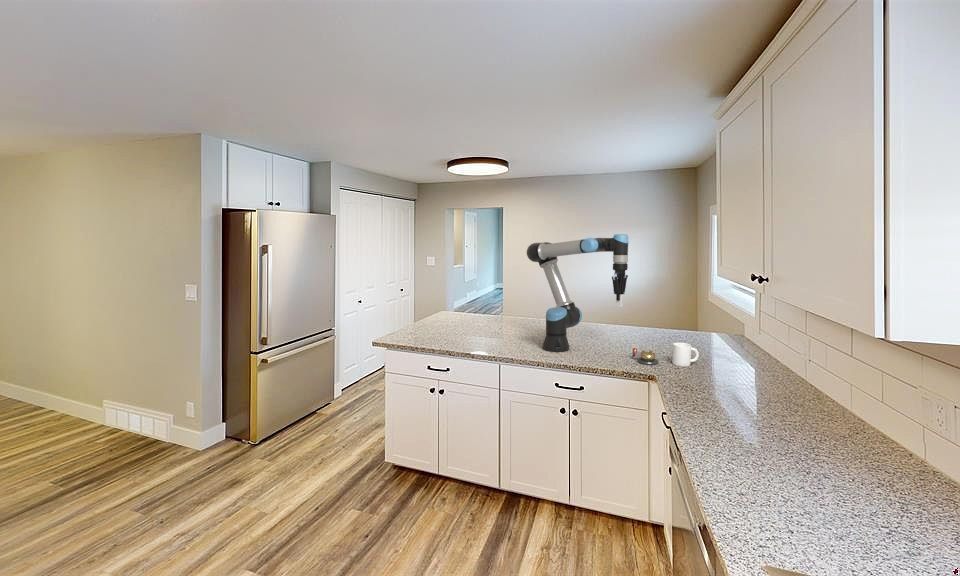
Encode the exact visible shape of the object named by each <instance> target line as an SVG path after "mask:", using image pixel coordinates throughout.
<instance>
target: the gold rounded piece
mask: <svg viewBox="0 0 960 576" xmlns="http://www.w3.org/2000/svg"><path fill="white" fill-rule="evenodd" d="M631 356H632V357H634V358H637V359H638V358H640V359H641V360H643V361H655V359H656V353H655V352H653V350H649V351H646V350H643V349H642V350H640V351H638V349H637V348H636V347H635V348H634V347H633V348H632V355H631Z"/></svg>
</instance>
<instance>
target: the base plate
mask: <svg viewBox="0 0 960 576" xmlns="http://www.w3.org/2000/svg"><path fill="white" fill-rule="evenodd" d="M636 361H637V363H638V364H641V365H646V366H656V365H659V360H658V359H657V358H655V361H643V360H641V359H640V358H638V357H637V359H636Z"/></svg>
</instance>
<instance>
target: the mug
mask: <svg viewBox="0 0 960 576" xmlns="http://www.w3.org/2000/svg"><path fill="white" fill-rule="evenodd" d="M692 352H694V353H695V357H694V358H692ZM671 357H672V358H671V360H672V361H671V363H672V365H673V366H676V367H681V368H688V367H690V366H691V363H694V362H696V361H698V359H699V357H700V353H699V351H698V350H697V348H695V347H692V344H690V343H686V342H673V343H672V355H671Z"/></svg>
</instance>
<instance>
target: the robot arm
mask: <svg viewBox="0 0 960 576" xmlns="http://www.w3.org/2000/svg"><path fill="white" fill-rule="evenodd" d="M601 252H603V253H604V252H609V253H610V252H611V253H613V254H612V262H613V264H612V271H614V275H612V276H611V280H612V287H613V289H612V290H613V294H614V295H616V296H615V297H616V298H615V307H618V308H622V307H623V295H625V294H626V288H627V280H628V277H629V275H628V274H626V271H628V269H629V267H628V261H629V235H628V234H627V233H615V234H613V237H594V238H593V237H588V238H584V239H576V240H575V239H574V240H569V241H562V242H554V243H552V242H548V241H547V242H546V241H545V242H534V243H531V244H530V245H529V246H527V249H526V256H527V259H529V260H530V261H531V262H533V263H537V264H538V265H539V267H540V268H542V269H543V272H544V275H545V277H546V280H547V283H548V285H549V288H550V291H551V294H552V297H553V300H554V302H555V304H556V305H555V307H550V308H548V309H547V310H546V313H545V337H544V339H543V340H544V341H543V343H542V350H545V351H546V352H553V353H554V352H555V353H562V352H567V351H569V350H570V343H569V341H568V337H567V329H569V328H573V327H575V326H577V325H578V324H580V323H581V321H582V319H583V314H582V311H581V309H580V308H579V307H578V306H576V305H575V301H572V300H571V298H570V296H569V293H568V290H567V287H566V285H565V282H564V280H563V277H562V274H561V272H560V269H559V267H558V261H559V260H558V257H563V256H572V255H580V254H592V253H601Z"/></svg>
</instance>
